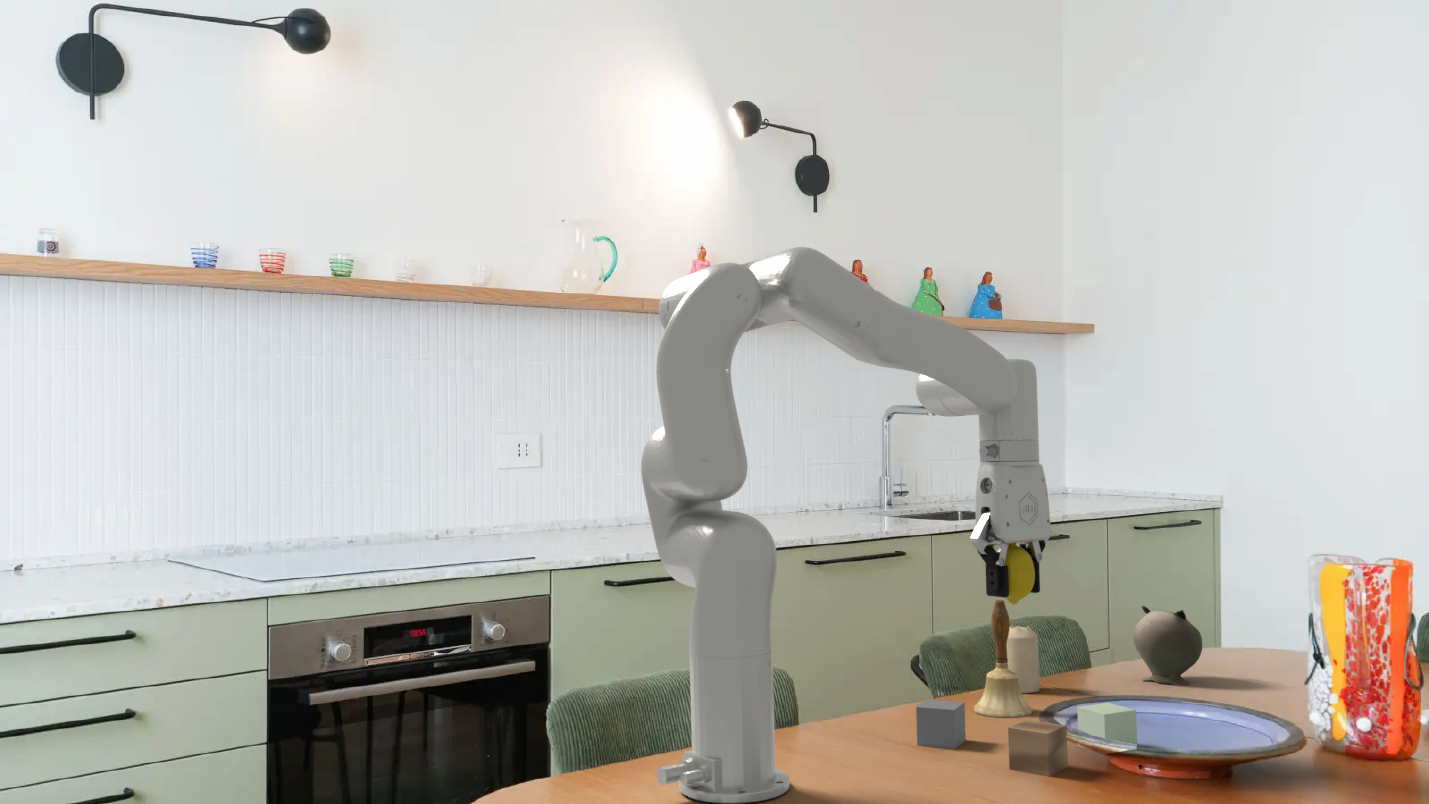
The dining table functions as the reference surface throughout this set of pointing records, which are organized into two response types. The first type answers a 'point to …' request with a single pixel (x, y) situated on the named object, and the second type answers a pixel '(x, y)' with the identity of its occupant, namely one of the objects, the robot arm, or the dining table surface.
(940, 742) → the charcoal cube
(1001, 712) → the hand bell
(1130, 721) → the sage cube
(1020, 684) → the candle
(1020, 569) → the lemon
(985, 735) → the dining table surface
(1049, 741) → the walnut cube
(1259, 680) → the dining table surface
